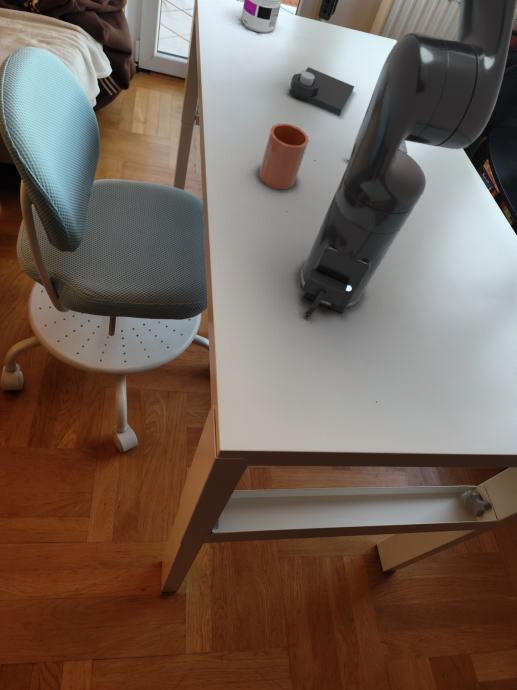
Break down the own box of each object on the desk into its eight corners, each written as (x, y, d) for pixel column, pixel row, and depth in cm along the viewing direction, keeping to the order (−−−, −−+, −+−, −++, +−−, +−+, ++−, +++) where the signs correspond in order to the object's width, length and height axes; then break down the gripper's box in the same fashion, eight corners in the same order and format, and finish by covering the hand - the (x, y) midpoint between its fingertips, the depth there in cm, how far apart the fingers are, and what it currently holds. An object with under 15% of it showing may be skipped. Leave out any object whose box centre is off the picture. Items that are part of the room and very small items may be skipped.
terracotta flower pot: (288, 194, 81) (302, 152, 74) (254, 179, 81) (265, 136, 75) (298, 175, 85) (312, 133, 78) (266, 161, 85) (277, 118, 78)
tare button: (310, 88, 98) (312, 80, 97) (297, 82, 98) (299, 75, 97) (313, 82, 100) (316, 75, 99) (301, 77, 100) (303, 69, 99)
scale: (338, 118, 99) (343, 104, 97) (285, 95, 99) (289, 81, 97) (352, 92, 107) (357, 78, 104) (302, 71, 107) (306, 57, 105)
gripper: (350, -123, 80) (317, -3, 93) (329, -109, 71) (296, 20, 85) (392, -105, 79) (352, 12, 93) (376, -90, 71) (335, 36, 85)
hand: (326, 15), depth 89 cm, fingers closed
